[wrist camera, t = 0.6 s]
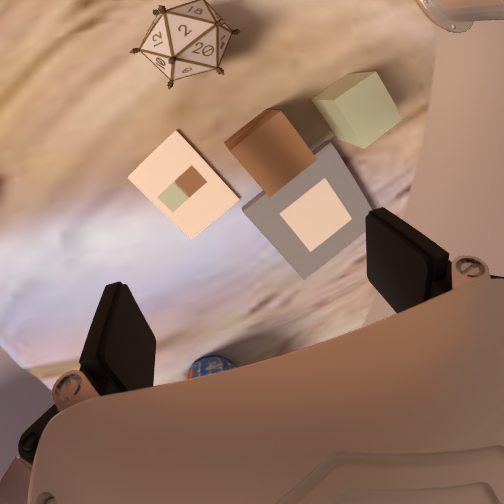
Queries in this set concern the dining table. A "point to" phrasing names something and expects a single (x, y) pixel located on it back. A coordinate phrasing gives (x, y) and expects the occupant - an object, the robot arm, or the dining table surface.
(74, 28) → the dining table surface
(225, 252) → the dining table surface
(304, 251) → the plate
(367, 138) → the sage block
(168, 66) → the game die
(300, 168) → the walnut block
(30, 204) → the dining table surface
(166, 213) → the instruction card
